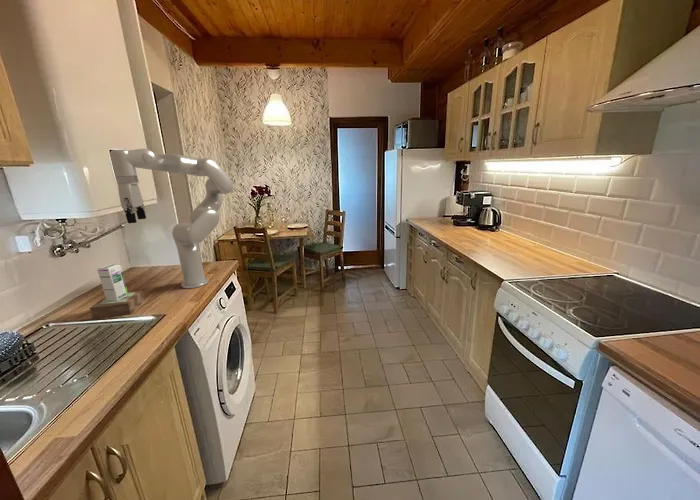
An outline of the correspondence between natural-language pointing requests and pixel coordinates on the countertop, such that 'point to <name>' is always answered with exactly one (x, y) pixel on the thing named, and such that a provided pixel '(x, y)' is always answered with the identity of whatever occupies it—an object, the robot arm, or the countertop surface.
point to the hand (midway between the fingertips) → (137, 220)
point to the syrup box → (113, 282)
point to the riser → (117, 306)
